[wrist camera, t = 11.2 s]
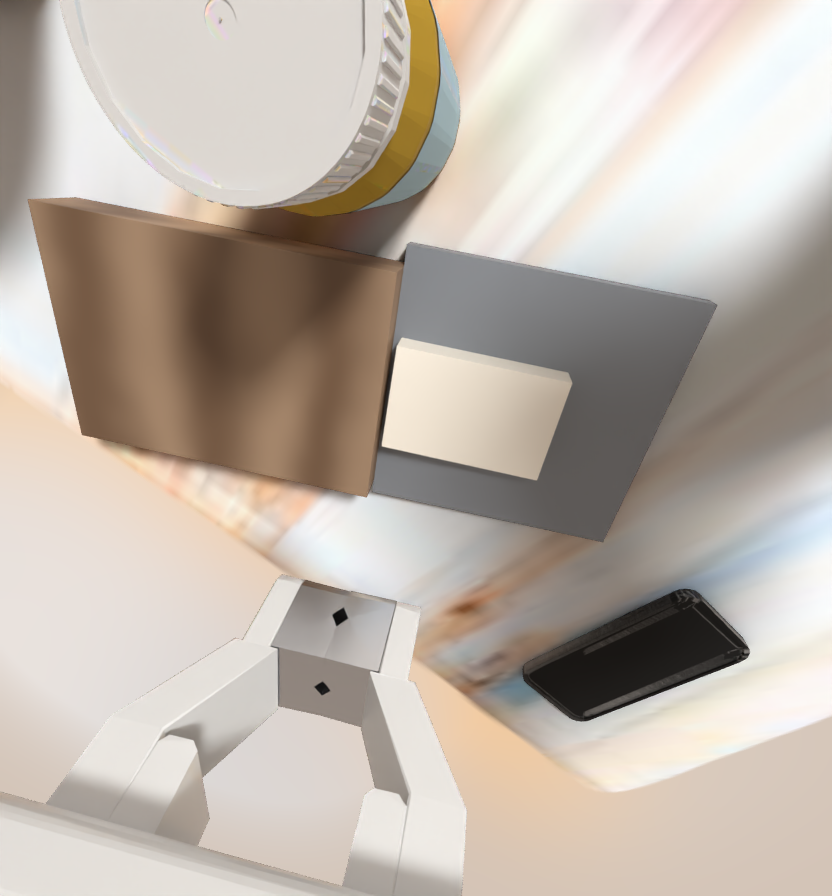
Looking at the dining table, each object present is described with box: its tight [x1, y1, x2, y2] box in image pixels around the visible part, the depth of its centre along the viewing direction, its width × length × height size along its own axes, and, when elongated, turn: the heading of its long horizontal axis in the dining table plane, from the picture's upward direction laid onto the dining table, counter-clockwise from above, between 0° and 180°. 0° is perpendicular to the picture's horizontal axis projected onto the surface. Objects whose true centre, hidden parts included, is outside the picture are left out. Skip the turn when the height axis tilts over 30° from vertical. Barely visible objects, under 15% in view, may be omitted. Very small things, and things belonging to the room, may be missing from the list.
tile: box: [382, 338, 572, 480], centre depth 26 cm, size 9×6×2 cm, turn 80°
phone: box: [523, 589, 750, 721], centre depth 36 cm, size 8×1×15 cm
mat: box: [372, 242, 717, 542], centre depth 27 cm, size 15×15×1 cm
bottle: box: [59, 0, 460, 216], centre depth 15 cm, size 7×7×15 cm
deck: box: [28, 197, 405, 497], centre depth 27 cm, size 18×13×3 cm
